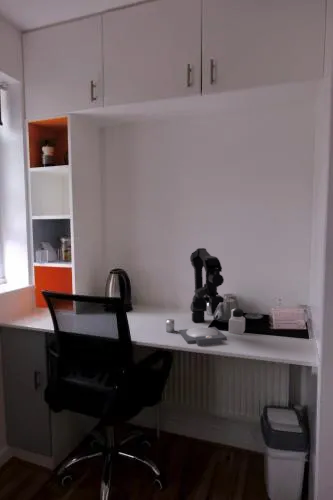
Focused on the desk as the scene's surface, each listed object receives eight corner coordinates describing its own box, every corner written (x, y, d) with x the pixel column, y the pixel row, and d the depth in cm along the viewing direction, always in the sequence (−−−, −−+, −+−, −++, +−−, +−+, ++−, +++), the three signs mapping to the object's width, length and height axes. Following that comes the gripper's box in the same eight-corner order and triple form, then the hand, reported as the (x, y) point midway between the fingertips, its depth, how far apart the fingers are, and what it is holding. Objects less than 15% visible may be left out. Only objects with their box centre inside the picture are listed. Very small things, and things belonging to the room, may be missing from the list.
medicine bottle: (245, 330, 173) (245, 308, 172) (242, 334, 167) (242, 311, 166) (231, 328, 176) (232, 307, 175) (228, 332, 170) (228, 310, 169)
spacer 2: (213, 313, 168) (213, 301, 168) (216, 315, 164) (216, 303, 163) (205, 313, 167) (205, 302, 167) (208, 316, 163) (208, 304, 162)
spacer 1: (173, 329, 176) (173, 318, 175) (175, 332, 171) (175, 321, 171) (165, 330, 175) (165, 319, 174) (167, 333, 170) (167, 321, 170)
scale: (214, 329, 175) (214, 323, 175) (230, 342, 156) (230, 336, 156) (179, 332, 171) (179, 326, 171) (190, 346, 152) (190, 339, 151)
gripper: (190, 279, 171) (190, 308, 173) (202, 286, 153) (202, 319, 155) (210, 278, 174) (210, 307, 175) (224, 285, 156) (224, 317, 157)
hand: (211, 312), depth 165 cm, fingers closed on spacer 2, 4 cm apart
